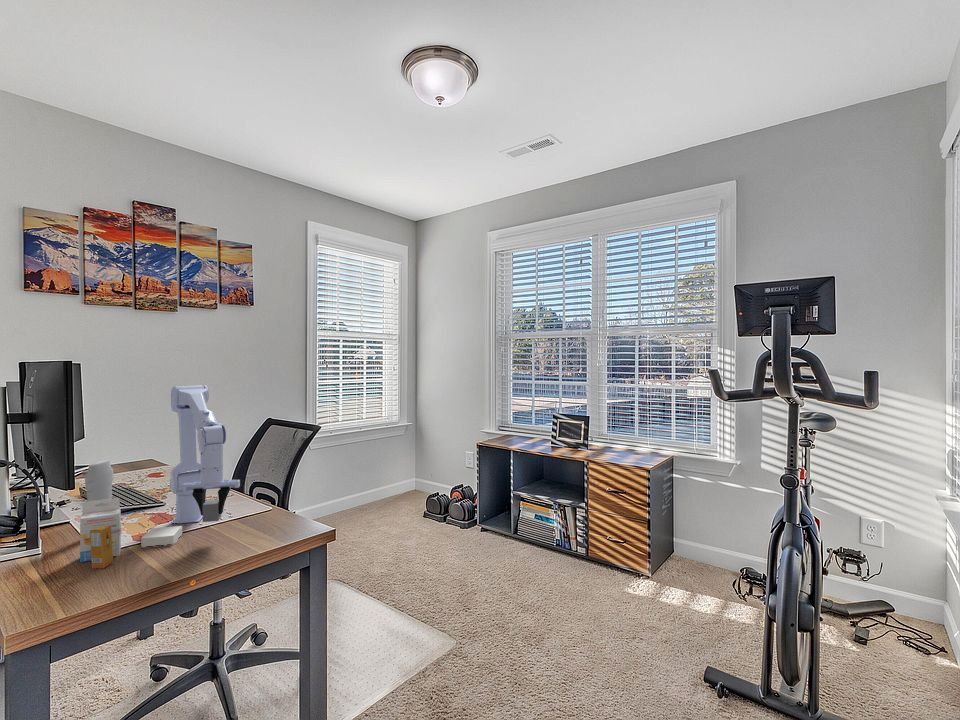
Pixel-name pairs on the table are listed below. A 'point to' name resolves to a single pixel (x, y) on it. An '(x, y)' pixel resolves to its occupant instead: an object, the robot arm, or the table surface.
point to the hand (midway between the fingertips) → (212, 513)
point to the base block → (161, 536)
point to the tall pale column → (99, 482)
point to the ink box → (100, 524)
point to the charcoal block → (211, 511)
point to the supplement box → (101, 546)
